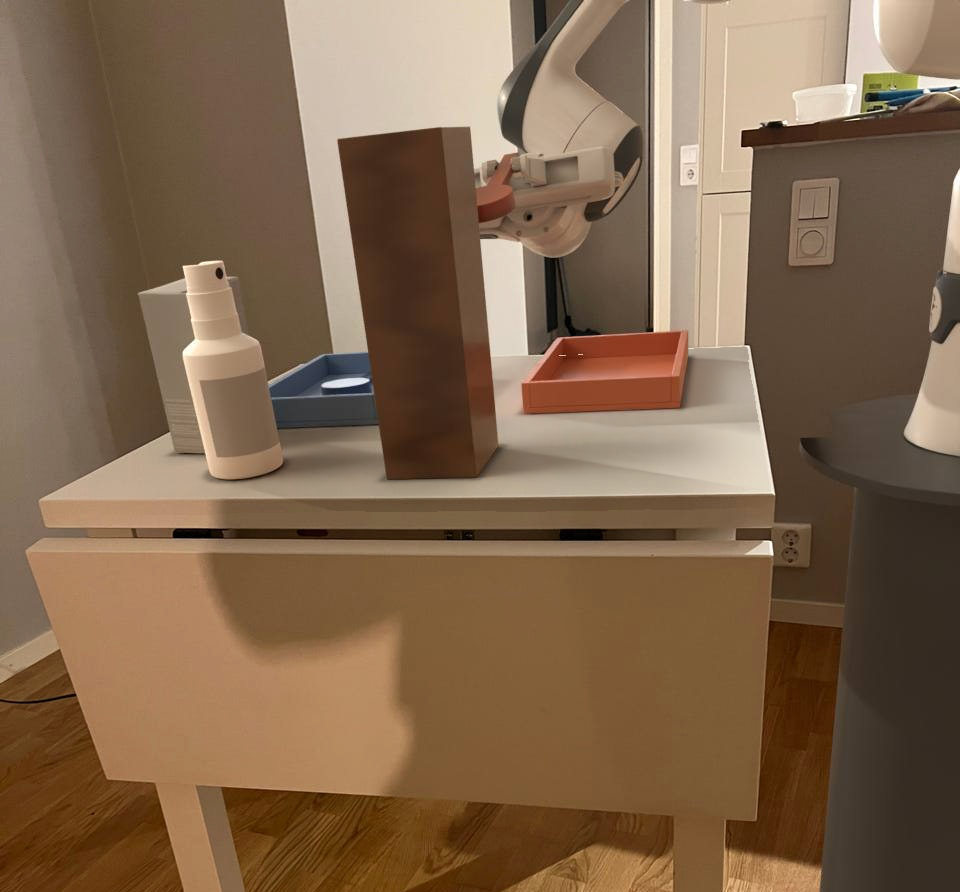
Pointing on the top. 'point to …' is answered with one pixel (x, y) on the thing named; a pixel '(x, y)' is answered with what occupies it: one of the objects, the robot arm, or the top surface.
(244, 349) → the spray bottle
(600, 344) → the terracotta tray
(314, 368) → the blue tray
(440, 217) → the tall brown block
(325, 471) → the top surface
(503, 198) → the terracotta spoon
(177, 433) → the cosmetic box
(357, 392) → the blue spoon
